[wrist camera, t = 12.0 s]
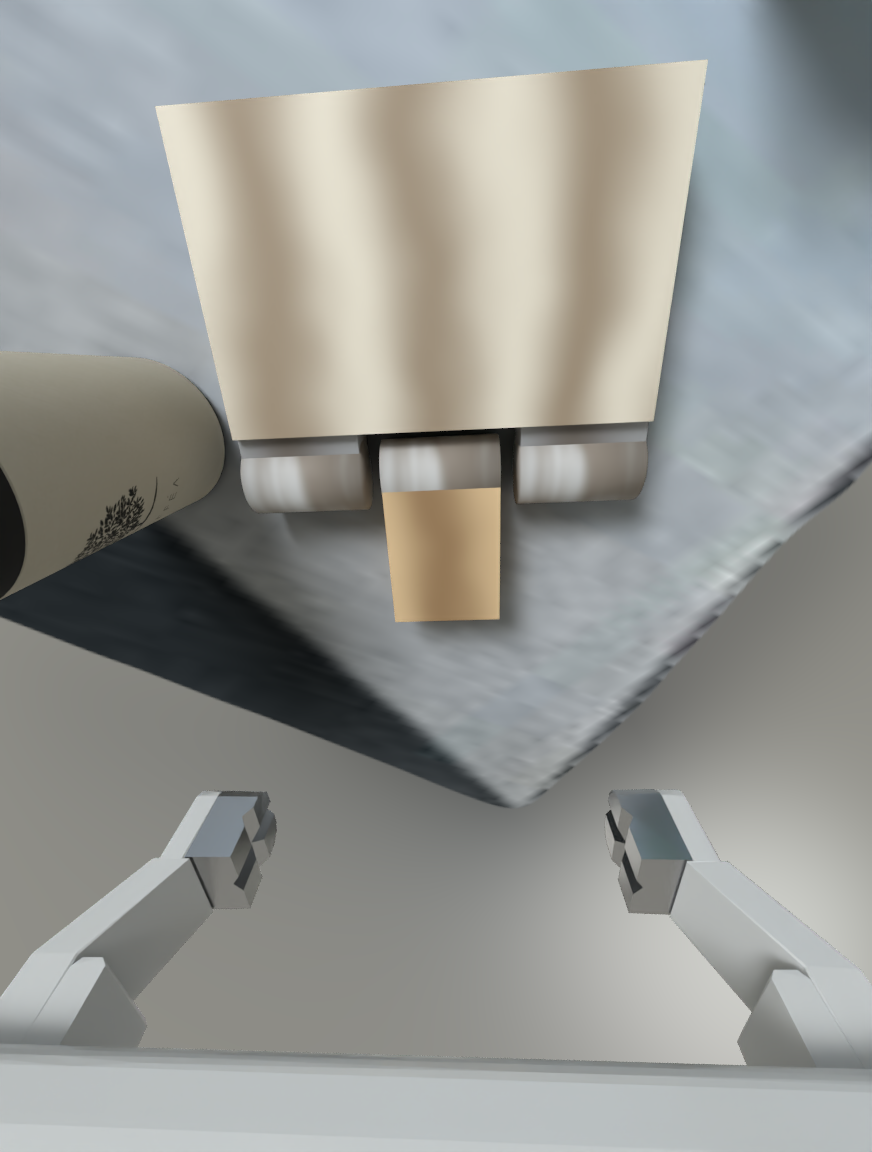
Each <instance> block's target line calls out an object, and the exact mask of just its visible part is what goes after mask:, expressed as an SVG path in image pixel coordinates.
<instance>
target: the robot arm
mask: <svg viewBox="0 0 872 1152" xmlns="http://www.w3.org/2000/svg"><path fill="white" fill-rule="evenodd" d="M608 802H609V805H610V808H611V810H610V811H609V812H608V813H607V814H606V816H605V837H606V842H607V846H608V850H609V853H610V856H611V859H612V860H613V861H614V862H615V863H616V864H617V865H618V866H619V867H620V873H619V878H618V881H619V884H620V887H621V890H622V893H623V896H624V899H625V902H626V905H627V908H628V911H629V913H644V914H668V915H670V918H671V919H672V920H673V921H674V922H675V924H676V925H677V926H678V927H679V928H680V929H681V930H682V932H683V933H684V934H685V935H686V936H687V937H688V939H689V940H690V941H691V942H692V943H693V944H694V946H695V947H696V948H697V949H698V950H699V951H700V952H701V954H702V955H703V956H704V957H705V958H706V959H707V960H708V962H709V963H710V964H711V965H712V966H713V967H714V969H715V970H716V971H717V972H718V973H719V974H720V976H721V977H722V978H723V979H724V980H725V981H726V983H727V984H728V985H729V986H730V987H731V988H732V990H733V991H734V992H735V993H736V994H737V995H738V997H739V998H740V999H741V1000H742V1001H743V1002H744V1003H745V1005H746V1006H747V1007H748V1008H749V1009H750V1010H751V1012H752V1013H751V1015H750V1017H749V1019H748V1021H747V1022H746V1024H745V1026H744V1028H743V1030H742V1032H741V1035H740V1037H739V1039H738V1041H737V1043H738V1045H739V1047H740V1050H741V1052H742V1055H743V1057H744V1059H745V1062H746V1064H747V1065H715V1064H714V1065H713V1064H679V1063H646V1062H614V1061H580V1060H546V1059H512V1058H478V1057H443V1056H412V1055H375V1054H344V1053H343V1054H341V1053H310V1052H276V1051H274V1052H273V1051H241V1050H207V1049H173V1048H172V1049H171V1048H138V1045H139V1043H140V1041H141V1039H142V1036H143V1034H144V1032H145V1030H146V1028H147V1025H146V1019H145V1017H144V1016H143V1014H142V1013H141V1011H140V1010H139V1009H138V1007H137V1006H136V1004H135V1003H134V1000H135V999H136V997H137V996H138V995H139V994H140V993H141V992H142V991H143V989H144V988H145V987H146V986H147V985H148V984H149V983H150V982H151V981H152V979H153V978H154V977H155V976H156V975H157V974H158V973H159V972H160V971H161V969H162V968H163V967H164V966H165V965H166V964H167V963H168V962H169V960H170V959H171V958H172V957H173V956H174V955H175V954H176V953H177V952H178V950H179V949H180V948H181V947H182V946H183V945H184V944H185V943H186V941H187V940H188V939H189V938H190V937H191V936H192V935H193V934H194V933H195V932H196V930H197V929H198V928H199V927H200V926H201V925H202V924H203V922H204V921H205V920H206V919H207V918H208V917H209V916H210V915H211V914H212V913H213V909H242V908H243V909H244V908H251V905H252V903H253V900H254V897H255V895H256V892H257V890H258V886H259V884H260V882H261V879H262V874H261V871H260V866H261V865H262V864H263V863H264V862H265V861H266V860H267V859H268V858H269V857H270V855H271V852H272V849H273V847H274V843H275V837H276V831H277V829H276V819H275V815H274V814H273V813H272V812H271V811H270V810H268V809H267V808H268V806H269V803H270V799H269V796H268V793H267V792H251V791H203V792H202V793H200V794H199V795H198V796H197V797H196V799H195V800H194V802H193V804H192V806H191V807H190V809H189V810H188V812H187V814H186V815H185V817H184V819H183V821H182V822H181V824H180V825H179V827H178V829H177V830H176V832H175V834H174V835H173V837H172V839H171V840H170V842H169V843H168V845H167V847H166V848H165V850H164V852H163V854H162V855H161V857H160V858H153V859H152V860H150V861H149V862H148V863H147V864H145V865H144V866H143V867H141V868H140V869H139V870H138V871H136V872H135V873H134V874H133V875H131V876H130V877H129V878H128V879H126V880H125V881H124V882H122V883H121V884H120V885H119V886H117V887H116V888H115V889H114V890H112V891H111V892H110V893H108V894H107V895H106V896H105V897H103V898H102V899H101V900H100V901H98V902H97V903H96V904H94V905H93V906H92V907H91V908H89V909H88V910H87V911H85V912H84V913H83V914H82V915H81V916H79V917H78V918H77V919H75V920H74V921H73V922H72V923H70V924H69V925H68V926H66V927H65V928H64V929H63V930H61V931H60V932H59V933H58V934H56V935H55V936H54V937H52V938H51V939H50V940H49V941H47V942H46V943H45V944H44V945H42V946H41V947H40V948H38V949H37V950H36V951H35V952H33V953H32V954H31V956H30V957H29V959H28V960H27V962H26V963H25V964H24V966H23V967H22V968H21V970H20V971H19V973H18V974H17V975H16V977H15V978H14V979H13V981H12V982H11V984H10V985H9V986H8V988H7V989H6V990H5V992H4V993H3V994H2V996H1V997H0V1152H872V986H871V984H870V982H869V981H868V980H867V978H866V977H865V975H864V974H863V972H862V971H861V969H860V968H858V967H857V966H856V965H855V964H853V963H852V962H851V961H850V960H849V959H847V958H846V957H845V956H844V955H842V954H841V953H840V952H839V951H837V950H836V949H835V948H834V947H832V946H831V945H830V944H829V943H828V942H826V941H825V940H824V939H823V938H822V937H820V936H819V935H818V934H817V933H815V932H814V931H813V930H812V929H810V928H809V927H808V926H807V925H806V924H804V923H803V922H802V921H801V920H799V919H798V918H797V917H796V916H794V915H793V914H792V913H791V912H790V911H788V910H787V909H786V908H785V907H783V906H782V905H781V904H780V903H779V902H777V901H776V900H775V899H774V898H772V897H771V896H770V895H769V894H767V893H766V892H765V891H764V890H763V889H761V888H760V887H759V886H758V885H756V884H755V883H754V882H753V881H752V880H750V879H749V878H748V877H747V876H745V875H744V874H743V873H742V872H740V871H739V870H738V869H737V868H736V867H734V866H733V865H732V864H730V863H729V862H728V861H721V860H720V859H719V857H718V855H717V853H716V851H715V850H714V848H713V846H712V844H711V842H710V841H709V839H708V837H707V835H706V833H705V832H704V830H703V828H702V826H701V824H700V822H699V821H698V819H697V817H696V815H695V813H694V812H693V810H692V808H691V806H690V804H689V802H688V801H687V799H686V797H685V795H684V794H683V793H682V792H681V791H680V790H654V789H642V790H612V791H611V792H610V793H609V798H608Z"/></svg>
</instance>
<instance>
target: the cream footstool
mask: <svg viewBox="0 0 872 1152" xmlns="http://www.w3.org/2000/svg"><path fill="white" fill-rule="evenodd" d="M707 63H708V60H697V61H685V62H673V63H661V64H650V65H638V66H626V67H614V68H602V69H591V70H579V71H567V72H555V73H543V74H532V75H520V76H508V77H496V78H484V79H473V80H461V81H449V82H437V83H425V84H414V85H402V86H390V87H378V88H366V89H355V90H343V91H331V92H319V93H307V94H296V95H284V96H272V97H260V98H249V99H237V100H225V101H213V102H201V103H190V104H178V105H166V106H155V108H156V112H157V116H158V121H159V125H160V129H161V133H162V138H163V142H164V146H165V151H166V155H167V159H168V164H169V168H170V172H171V177H172V181H173V185H174V190H175V194H176V198H177V203H178V207H179V211H180V216H181V220H182V224H183V228H184V233H185V237H186V241H187V246H188V250H189V254H190V259H191V263H192V267H193V272H194V276H195V280H196V285H197V289H198V293H199V298H200V302H201V306H202V311H203V315H204V319H205V323H206V328H207V332H208V336H209V341H210V345H211V349H212V354H213V358H214V362H215V367H216V371H217V375H218V380H219V384H220V388H221V393H222V397H223V401H224V406H225V410H226V414H227V419H228V423H229V427H230V431H231V436H232V440H237V441H238V445H239V449H240V454H241V458H242V459H241V482H242V487H243V491H244V494H245V497H246V500H247V502H248V504H249V505H250V507H251V508H252V509H253V510H254V511H255V512H256V513H285V512H312V511H339V510H366V509H370V507H371V504H372V497H373V476H372V465H371V459H370V454H369V450H368V446H367V437H366V434H384V433H406V432H428V431H450V430H472V429H494V428H515V439H514V447H513V462H512V477H513V492H514V498H515V502H516V504H528V503H555V502H582V501H609V500H632V499H635V498H636V497H637V496H638V495H639V494H640V492H641V490H642V488H643V485H644V482H645V478H646V473H647V465H648V450H647V443H646V438H647V431H648V424H649V421H654V415H655V408H656V401H657V395H658V388H659V381H660V375H661V368H662V361H663V355H664V348H665V342H666V335H667V328H668V322H669V315H670V308H671V302H672V295H673V288H674V282H675V275H676V269H677V262H678V255H679V249H680V242H681V235H682V229H683V222H684V215H685V209H686V202H687V196H688V189H689V182H690V176H691V169H692V162H693V156H694V149H695V142H696V136H697V129H698V122H699V116H700V109H701V103H702V96H703V89H704V83H705V76H706V69H707Z"/></svg>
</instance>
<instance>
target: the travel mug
mask: <svg viewBox="0 0 872 1152" xmlns="http://www.w3.org/2000/svg"><path fill="white" fill-rule="evenodd" d="M224 458H225V447H224V439H223V434H222V430H221V427H220V424H219V421H218V419H217V417H216V415H215V413H214V411H213V409H212V407H211V406H210V404H209V403H208V401H207V400H206V398H205V397H204V396H203V394H202V393H201V392H200V391H199V390H198V389H197V388H196V387H195V386H194V385H193V384H192V383H191V382H190V381H189V380H188V379H187V378H185V377H184V376H183V375H181V374H180V373H178V372H177V371H175V370H174V369H172V368H170V367H168V366H166V365H164V364H162V363H159V362H156V361H153V360H149V359H144V358H133V357H112V356H92V355H71V354H51V353H30V352H10V351H0V600H1V599H3V598H5V597H7V596H9V595H11V594H13V593H15V592H17V591H19V590H21V589H23V588H25V587H27V586H29V585H31V584H33V583H35V582H37V581H39V580H40V579H42V578H44V577H46V576H48V575H50V574H52V573H54V572H56V571H58V570H60V569H62V568H64V567H66V566H68V565H70V564H72V563H74V562H76V561H78V560H80V559H82V558H84V557H86V556H88V555H90V554H92V553H94V552H96V551H98V550H100V549H102V548H104V547H106V546H108V545H110V544H112V543H114V542H116V541H118V540H120V539H122V538H124V537H126V536H128V535H130V534H132V533H134V532H136V531H138V530H140V529H142V528H144V527H146V526H148V525H150V524H152V523H154V522H156V521H158V520H160V519H162V518H164V517H166V516H168V515H170V514H172V513H174V512H176V511H178V510H180V509H182V508H184V507H186V506H188V505H190V504H192V503H194V502H196V501H198V500H200V499H201V498H203V497H204V496H206V495H207V494H208V493H209V492H210V491H211V490H212V489H213V487H214V486H215V485H216V483H217V481H218V479H219V477H220V475H221V472H222V469H223V465H224Z"/></svg>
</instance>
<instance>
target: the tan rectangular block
mask: <svg viewBox="0 0 872 1152" xmlns="http://www.w3.org/2000/svg"><path fill="white" fill-rule="evenodd" d="M379 470H380V482H381V490H382V498H383V508H384V517H385V527H386V536H387V546H388V555H389V565H390V574H391V584H392V593H393V603H394V612H395V622H414V621H451V620H487V619H499V608H500V494H501V456H500V442H499V436H498V434H497V433H496V434H476V435H457V436H437V437H417V438H397V439H382V440H381V443H380V451H379Z"/></svg>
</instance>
